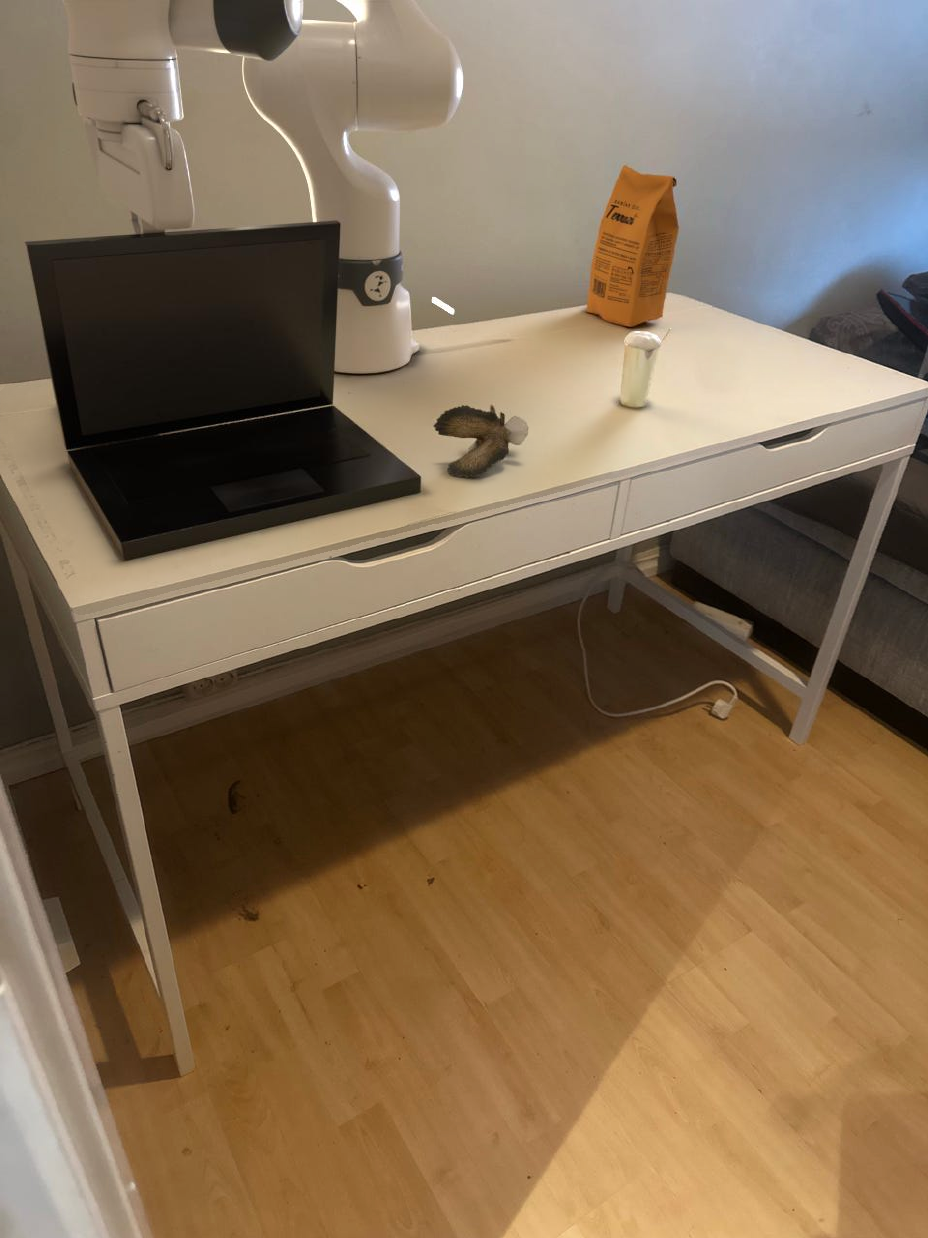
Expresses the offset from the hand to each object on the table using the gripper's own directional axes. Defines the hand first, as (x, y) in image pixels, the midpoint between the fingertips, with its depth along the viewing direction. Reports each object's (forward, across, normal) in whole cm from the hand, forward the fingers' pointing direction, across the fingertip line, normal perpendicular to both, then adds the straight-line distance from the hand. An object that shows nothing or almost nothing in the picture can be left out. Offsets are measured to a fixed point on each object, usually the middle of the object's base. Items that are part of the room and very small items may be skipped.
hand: (152, 260), depth 86 cm
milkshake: (+20, -11, -56) cm, 61 cm away
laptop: (+20, -10, -4) cm, 22 cm away
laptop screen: (+8, -1, -4) cm, 9 cm away
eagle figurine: (+20, -17, -28) cm, 38 cm away
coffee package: (+20, +21, -80) cm, 85 cm away
